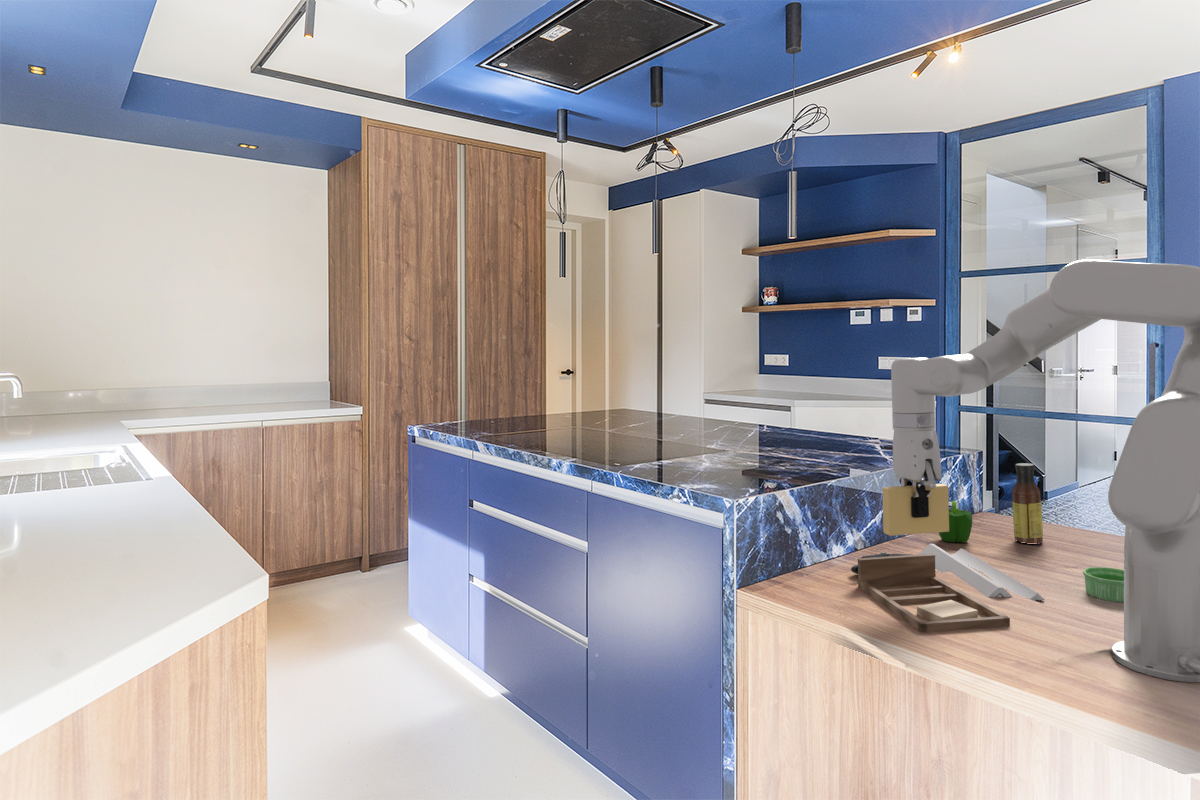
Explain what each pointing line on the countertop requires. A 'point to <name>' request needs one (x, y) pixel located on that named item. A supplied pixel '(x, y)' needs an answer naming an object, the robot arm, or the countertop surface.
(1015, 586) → the crown molding
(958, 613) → the offcut upper
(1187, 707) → the countertop surface
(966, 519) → the bell pepper
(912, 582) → the rack
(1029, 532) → the sauce bottle
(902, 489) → the panel
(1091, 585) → the ramekin
